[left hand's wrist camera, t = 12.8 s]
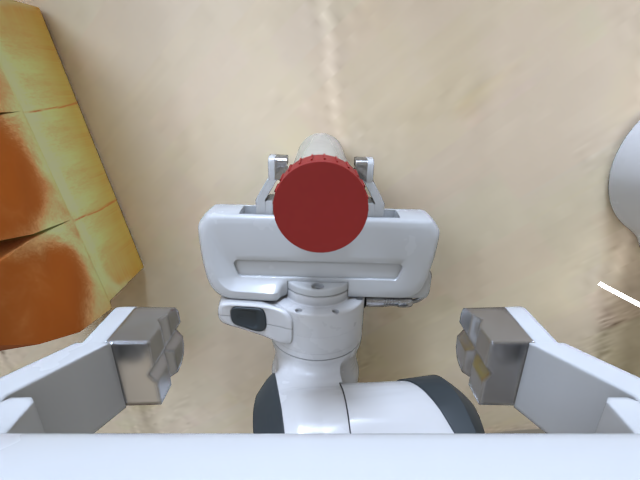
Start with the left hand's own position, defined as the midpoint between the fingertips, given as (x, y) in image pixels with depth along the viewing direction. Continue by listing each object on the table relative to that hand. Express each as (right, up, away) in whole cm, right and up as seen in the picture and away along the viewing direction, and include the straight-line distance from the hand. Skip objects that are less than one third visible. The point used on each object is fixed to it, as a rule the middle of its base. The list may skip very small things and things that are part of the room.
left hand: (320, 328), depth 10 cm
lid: (0, +4, +10) cm, 11 cm away
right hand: (0, +9, +21) cm, 23 cm away
